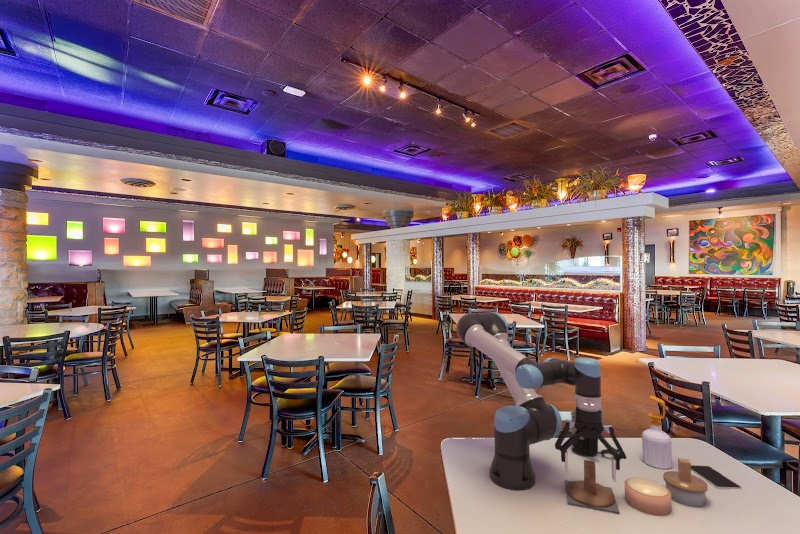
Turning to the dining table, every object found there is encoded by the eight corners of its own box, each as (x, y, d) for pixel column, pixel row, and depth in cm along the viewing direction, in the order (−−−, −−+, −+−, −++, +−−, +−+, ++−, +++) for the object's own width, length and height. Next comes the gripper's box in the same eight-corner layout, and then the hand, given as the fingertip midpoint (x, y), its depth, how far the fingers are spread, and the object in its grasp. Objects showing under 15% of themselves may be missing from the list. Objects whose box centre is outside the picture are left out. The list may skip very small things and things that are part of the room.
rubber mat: (567, 504, 116) (567, 502, 116) (565, 481, 129) (565, 479, 129) (619, 514, 111) (619, 512, 111) (611, 489, 124) (611, 487, 124)
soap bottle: (644, 455, 148) (642, 392, 149) (673, 462, 142) (671, 396, 143) (641, 464, 141) (639, 397, 142) (671, 472, 135) (669, 402, 136)
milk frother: (566, 448, 155) (565, 411, 155) (597, 443, 159) (596, 408, 160) (593, 464, 141) (592, 424, 142) (626, 458, 145) (625, 419, 146)
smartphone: (708, 465, 139) (743, 487, 124) (708, 469, 138) (743, 491, 124) (685, 465, 139) (717, 486, 124) (685, 468, 139) (717, 490, 124)
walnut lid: (568, 502, 116) (567, 469, 116) (565, 480, 129) (565, 450, 129) (618, 511, 111) (617, 477, 111) (610, 488, 124) (610, 456, 124)
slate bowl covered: (669, 503, 116) (668, 465, 116) (659, 485, 126) (658, 450, 127) (714, 511, 112) (713, 472, 113) (699, 491, 123) (698, 455, 123)
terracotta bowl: (629, 510, 113) (628, 492, 113) (621, 489, 124) (621, 473, 124) (677, 519, 108) (676, 500, 108) (664, 497, 120) (664, 480, 120)
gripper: (546, 407, 122) (547, 474, 121) (636, 416, 113) (638, 489, 112) (546, 400, 129) (547, 463, 128) (630, 408, 120) (632, 477, 119)
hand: (589, 475), depth 120 cm, fingers open, 13 cm apart
